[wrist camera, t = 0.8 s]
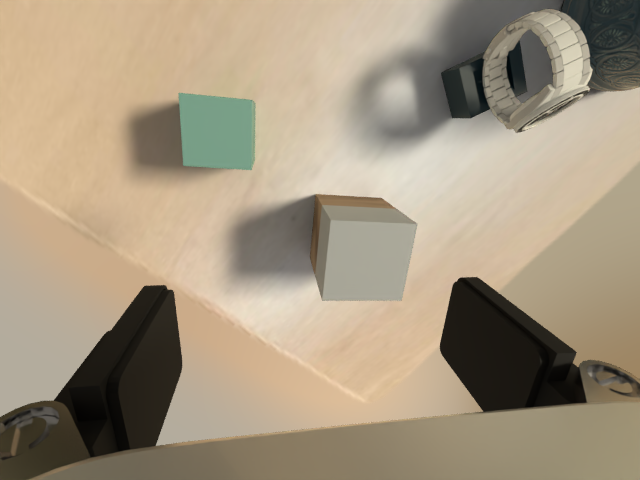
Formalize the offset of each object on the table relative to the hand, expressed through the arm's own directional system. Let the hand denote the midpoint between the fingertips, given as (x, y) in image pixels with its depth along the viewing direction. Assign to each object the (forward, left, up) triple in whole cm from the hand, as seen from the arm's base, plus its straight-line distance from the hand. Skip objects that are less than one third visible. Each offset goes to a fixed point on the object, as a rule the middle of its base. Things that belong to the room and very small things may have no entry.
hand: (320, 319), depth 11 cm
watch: (-11, +17, -23) cm, 31 cm away
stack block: (-5, -6, -23) cm, 24 cm away
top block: (+4, +6, -18) cm, 20 cm away
